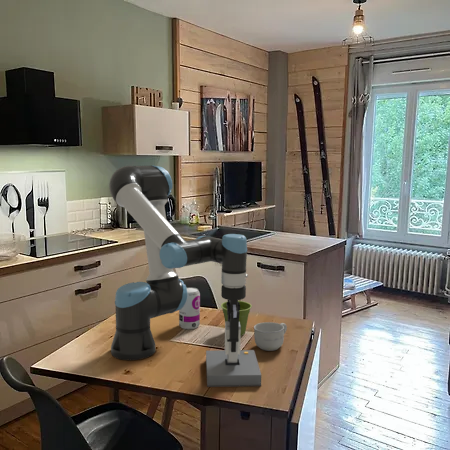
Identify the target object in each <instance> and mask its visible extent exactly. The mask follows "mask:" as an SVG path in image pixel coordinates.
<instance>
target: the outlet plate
mask: <svg viewBox="0 0 450 450" xmlns="http://www.w3.org/2000/svg"><path fill="white" fill-rule="evenodd" d="M205 366H206V367H205V368H206V384H207V385H206V387H207V388H215V387H216V388H220V387H224V388H225V387H226V388H227V387H229V388H230V387H237V388H238V387H262V373H261V369H260V366H259V361H258V359H257V356H256V351H255V350H254V349H249V350H247V349H244V350H243V349H240V354H238V356H237V363H228V361H227V355H226V354H225V349H224V350H219V349H218V350H205Z"/></svg>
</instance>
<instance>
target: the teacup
mask: <svg viewBox="0 0 450 450" xmlns="http://www.w3.org/2000/svg"><path fill="white" fill-rule="evenodd" d="M287 330H288V327H287V324H286V323H284V322H281V323H278V322H272V321H271V322H270V321H268V322H265V321H264V322H259V323H256V324H255V325H254V326H253V331H254V332H253V336H254V337H253V338H254V344H255V345H256V346H257V347H258V348H260V349H261V350H262V351H265V352H266V351H268V352H270V351H272V352H273V351H276V350H278V349H279V348H280V347H282V345H283V344H284V342H285V341H284V338H285V334H286V333H287Z"/></svg>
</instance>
